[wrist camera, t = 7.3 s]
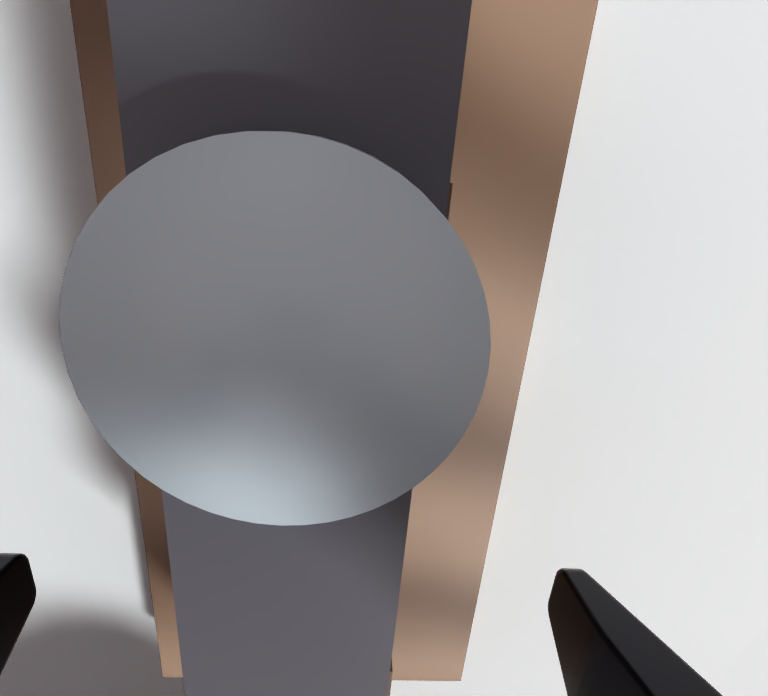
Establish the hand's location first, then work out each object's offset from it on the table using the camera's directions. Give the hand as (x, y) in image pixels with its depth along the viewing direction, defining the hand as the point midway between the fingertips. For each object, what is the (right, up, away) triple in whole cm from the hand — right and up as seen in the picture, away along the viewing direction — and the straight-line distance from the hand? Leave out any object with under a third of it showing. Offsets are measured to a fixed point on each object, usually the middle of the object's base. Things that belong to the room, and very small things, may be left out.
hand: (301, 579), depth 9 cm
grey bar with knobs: (0, +1, +3) cm, 3 cm away
